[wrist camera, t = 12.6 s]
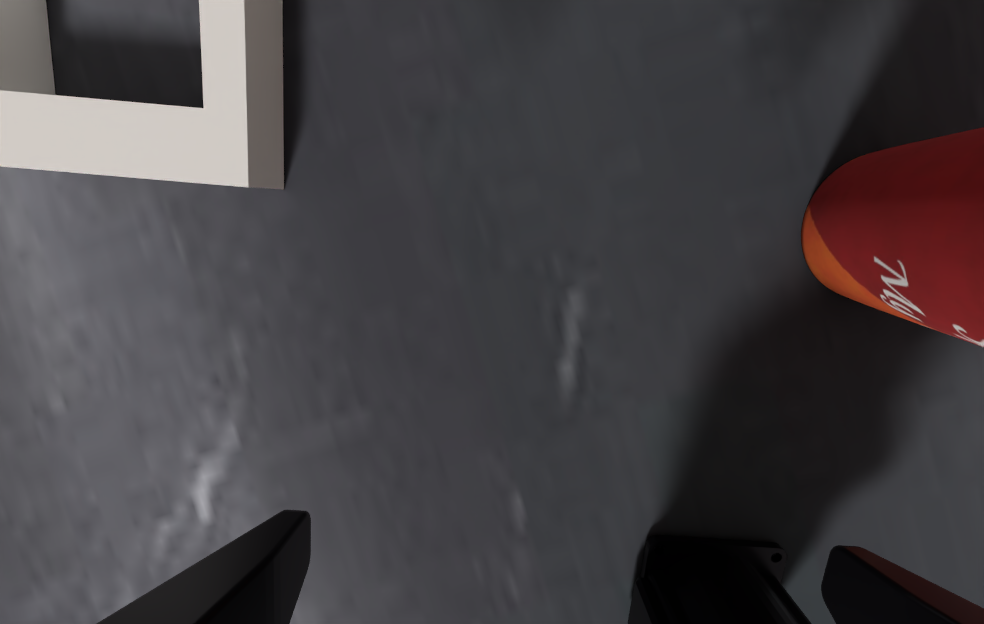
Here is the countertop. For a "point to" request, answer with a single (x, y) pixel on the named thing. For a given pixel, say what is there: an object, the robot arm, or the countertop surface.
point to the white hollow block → (152, 106)
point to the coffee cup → (906, 232)
